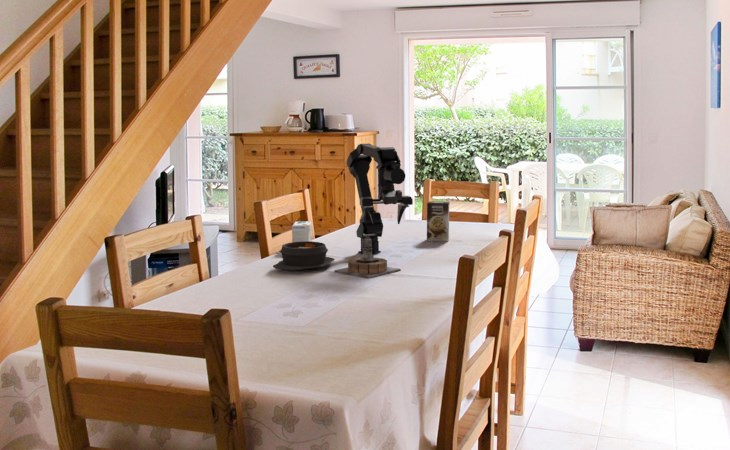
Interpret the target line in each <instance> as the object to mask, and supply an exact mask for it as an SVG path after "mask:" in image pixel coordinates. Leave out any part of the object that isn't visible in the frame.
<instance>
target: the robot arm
mask: <svg viewBox="0 0 730 450" xmlns="http://www.w3.org/2000/svg"><path fill="white" fill-rule="evenodd" d="M373 160H374V162H376V164H377V165H376V168H375V169H377V198H373V197H372V196H373V195H372V192H371V186H370V182H369V177H368V173H369V171H370V168H371V167H370V166H371V163H372V161H373ZM401 165H402V164H401V160H400V157H399V155H398V152H397V150H396V148H395V147H393V146H389V147H388V146H386V147H385V146H384V147H381V146H377V145H373V144H371V143H359V144H357V146H356V148H355V149H354V150H352V151H351V152H350V153H349V155H348V157H347V158H346V166H347V168H348V171H349V173H350V175H351V176H353V178H354V180H355V184H356V190H357V194H358V195H357V196H358V198H359V205H360V208H361V215H360V219H359V225H358V226H357V229H356V232H355V233H356V237H357V238H360V250H359V251H357V253H358V254H363V249H362V248H363V240H364V238H366V237H367V235H368V237H369V238H371V239H372V248H373V249H372V255H373V254H374V255H375V254H379V253H381V252H382V251H381V250H379V247H380V246H379V244H380V243H379V242H380V241H379V237H380V238H381V237H382V236H383V231H384V224H383V219H382V215H381V212H379V211H376V210H375V205H378V204H382V205H383V204H384V205H385V206H386V205H391V204H392V205H397V217H396V219H397V224H398V225H400V224H401V221H402V217H403V215H404V212H405V210H406V209H407V208H409V207H410V205H414V204H413V203H414V201H413V200H414V199H413V197H411V196H409V195H403V191H402V190H401V189H397V190H395V185H401V184H402V183H404V182H405V181H406V173H405V170H403V169H402V168H401Z"/></svg>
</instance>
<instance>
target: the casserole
mask: <svg viewBox="0 0 730 450" xmlns="http://www.w3.org/2000/svg"><path fill="white" fill-rule="evenodd" d="M326 246H327V245H326V244H325V243H324V242H320V241H319V242H318V241H312V240H311V241H303V242H292V241H291V242H287V243H285V244H282V247H281V248H280V250H279V253H280V255H281V258H282V260H280V261H278V262H277V263H275V264H274V265H272V267H273V268H274V269H277V270H282V271H294V272H310V271H317V270H319V269H321V268H323V267H326V266H329V265H330V264H332V262H333V261H335V258H333V257H329V256H327V254H328V252H329V249H328V248H327V247H326Z"/></svg>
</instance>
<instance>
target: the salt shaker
mask: <svg viewBox="0 0 730 450" xmlns="http://www.w3.org/2000/svg"><path fill="white" fill-rule="evenodd" d="M362 249H363V253H362V257H359V258H360V259H359V260H360V263H375V260H376V258H377V257H374V256H373V254H372V249H373V248H372V239H371V238H369V237H368V235H367V237H366V238H364V240H363V248H362ZM373 257H374V258H373Z"/></svg>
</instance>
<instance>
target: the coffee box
mask: <svg viewBox="0 0 730 450" xmlns="http://www.w3.org/2000/svg"><path fill="white" fill-rule="evenodd" d="M450 202H451V201H427V202H426V242H443V243H444V242H445V243H446V242H447V243H448V242H449V240H450Z"/></svg>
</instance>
